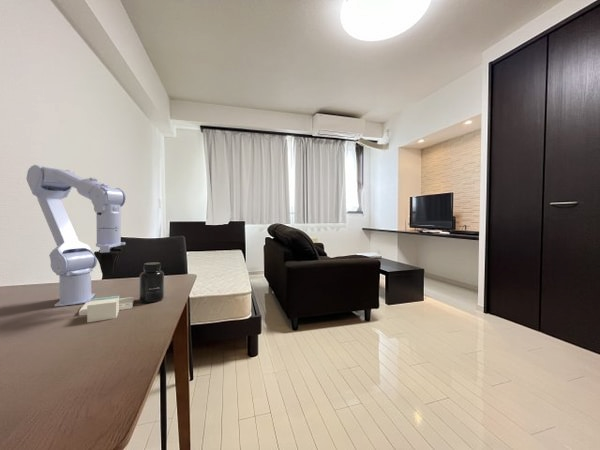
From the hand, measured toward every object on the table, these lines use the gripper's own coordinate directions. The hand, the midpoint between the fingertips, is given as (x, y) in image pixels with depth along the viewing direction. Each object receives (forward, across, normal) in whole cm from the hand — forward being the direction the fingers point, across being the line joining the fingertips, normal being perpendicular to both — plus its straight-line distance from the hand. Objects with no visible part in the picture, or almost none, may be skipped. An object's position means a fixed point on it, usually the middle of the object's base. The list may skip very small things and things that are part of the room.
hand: (109, 273), depth 75 cm
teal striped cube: (+10, -8, 0) cm, 13 cm away
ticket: (+10, -1, 0) cm, 10 cm away
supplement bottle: (+10, +1, -11) cm, 15 cm away
